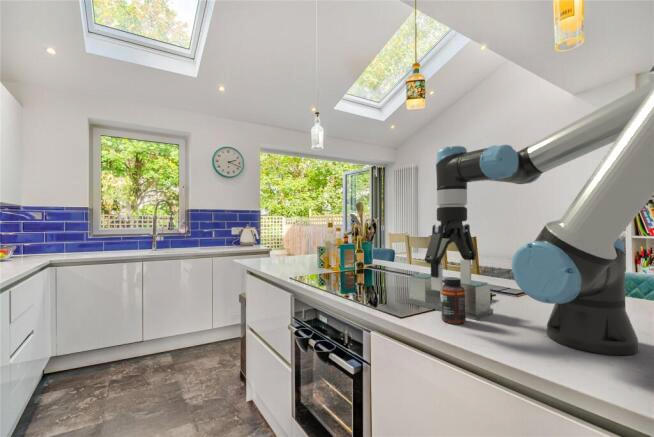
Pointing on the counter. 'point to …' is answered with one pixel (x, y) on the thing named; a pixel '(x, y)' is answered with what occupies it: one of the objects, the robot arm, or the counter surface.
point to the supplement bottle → (453, 301)
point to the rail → (428, 298)
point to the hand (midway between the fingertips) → (452, 286)
